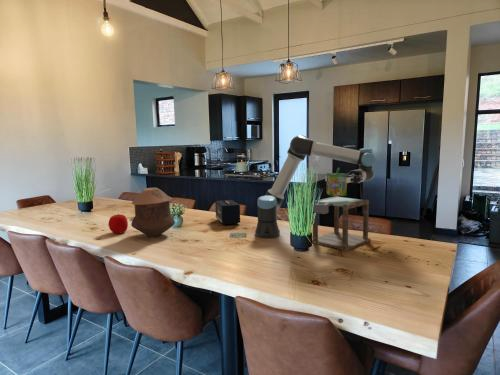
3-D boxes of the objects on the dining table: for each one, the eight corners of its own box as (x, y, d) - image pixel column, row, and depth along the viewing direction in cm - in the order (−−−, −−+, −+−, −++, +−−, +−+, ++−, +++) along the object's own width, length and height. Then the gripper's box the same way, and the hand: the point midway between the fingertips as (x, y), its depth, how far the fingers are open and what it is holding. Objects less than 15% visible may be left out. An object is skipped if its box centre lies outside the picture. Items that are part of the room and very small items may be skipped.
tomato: (124, 235, 215) (123, 215, 213) (106, 235, 215) (104, 216, 213) (131, 230, 227) (130, 211, 225) (114, 230, 227) (112, 212, 226)
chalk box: (326, 193, 190) (326, 167, 188) (342, 193, 190) (342, 166, 188) (329, 196, 181) (330, 168, 179) (347, 196, 181) (347, 168, 179)
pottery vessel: (180, 230, 224) (178, 185, 220) (167, 241, 199) (164, 190, 195) (142, 230, 227) (139, 185, 223) (125, 241, 202) (121, 191, 198)
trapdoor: (325, 214, 166) (325, 206, 166) (299, 210, 178) (299, 202, 177) (363, 204, 190) (363, 197, 190) (338, 201, 202) (338, 194, 201)
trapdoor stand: (346, 251, 175) (346, 206, 172) (310, 242, 192) (310, 201, 189) (370, 241, 192) (371, 200, 189) (335, 233, 209) (335, 195, 206)
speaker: (215, 219, 253) (215, 199, 251) (232, 218, 257) (232, 198, 255) (222, 226, 232) (221, 204, 230) (240, 224, 236) (239, 203, 234)
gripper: (376, 184, 190) (356, 188, 175) (338, 181, 207) (317, 184, 193) (376, 170, 189) (356, 173, 174) (338, 168, 206) (317, 171, 192)
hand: (335, 179), depth 184 cm, fingers closed on chalk box, 12 cm apart
